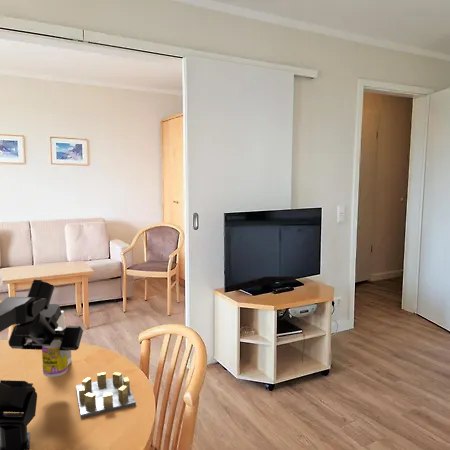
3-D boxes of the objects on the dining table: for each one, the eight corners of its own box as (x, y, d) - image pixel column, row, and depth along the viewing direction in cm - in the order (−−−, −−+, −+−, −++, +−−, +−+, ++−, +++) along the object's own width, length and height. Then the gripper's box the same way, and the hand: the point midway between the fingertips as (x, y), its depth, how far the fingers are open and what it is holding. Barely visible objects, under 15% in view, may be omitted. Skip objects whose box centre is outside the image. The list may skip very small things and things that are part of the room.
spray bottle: (48, 369, 133) (45, 316, 131) (51, 359, 139) (48, 309, 137) (70, 366, 135) (68, 314, 132) (72, 357, 141) (70, 307, 139)
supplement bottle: (37, 376, 115) (35, 332, 113) (54, 365, 121) (52, 324, 120) (57, 379, 113) (55, 335, 112) (73, 368, 119) (71, 326, 118)
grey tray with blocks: (135, 405, 113) (135, 391, 112) (81, 418, 107) (80, 403, 106) (124, 378, 127) (124, 366, 127) (75, 388, 121) (75, 375, 121)
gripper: (79, 298, 110) (95, 323, 122) (11, 297, 111) (34, 321, 123) (67, 338, 103) (86, 360, 115) (-4, 336, 104) (21, 358, 116)
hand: (57, 348), depth 118 cm, fingers closed on supplement bottle, 7 cm apart
